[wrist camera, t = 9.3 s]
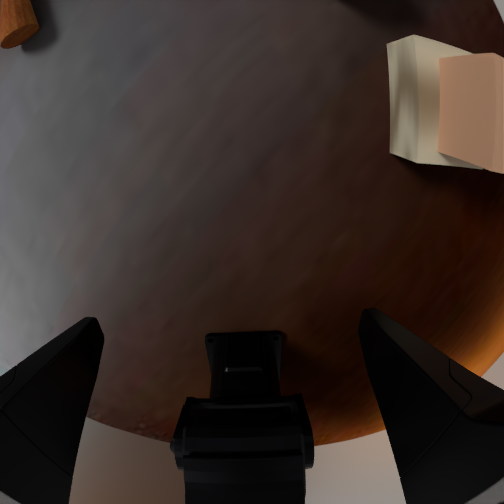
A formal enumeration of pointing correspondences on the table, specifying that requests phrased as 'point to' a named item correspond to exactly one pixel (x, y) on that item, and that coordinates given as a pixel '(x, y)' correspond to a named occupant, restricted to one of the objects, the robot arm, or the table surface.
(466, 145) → the terracotta brick
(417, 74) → the birch brick
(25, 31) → the kendama
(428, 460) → the robot arm
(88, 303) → the table surface
